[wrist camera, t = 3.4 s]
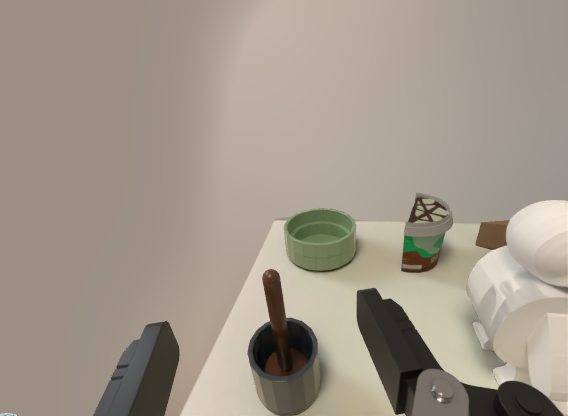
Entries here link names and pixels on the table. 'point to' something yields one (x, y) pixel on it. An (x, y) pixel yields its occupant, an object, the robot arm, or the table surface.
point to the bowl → (320, 239)
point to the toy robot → (527, 300)
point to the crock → (296, 387)
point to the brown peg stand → (280, 330)
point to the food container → (425, 233)
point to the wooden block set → (492, 234)
